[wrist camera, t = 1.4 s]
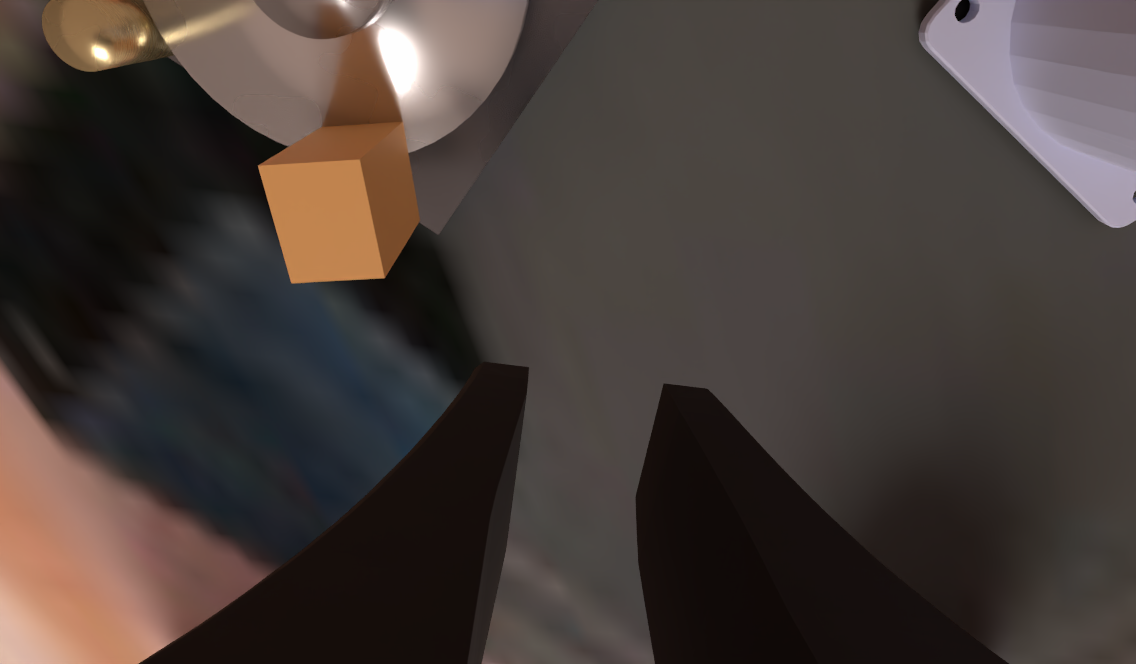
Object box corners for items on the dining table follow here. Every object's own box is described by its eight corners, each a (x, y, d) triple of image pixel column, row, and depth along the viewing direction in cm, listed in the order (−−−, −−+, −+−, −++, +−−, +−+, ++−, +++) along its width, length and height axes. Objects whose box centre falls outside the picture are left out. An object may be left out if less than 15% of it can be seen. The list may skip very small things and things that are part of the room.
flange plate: (88, -268, 11) (-142, -384, 7) (512, -304, 11) (483, -442, 7) (238, 217, 15) (136, 292, 11) (550, 198, 15) (544, 269, 11)
